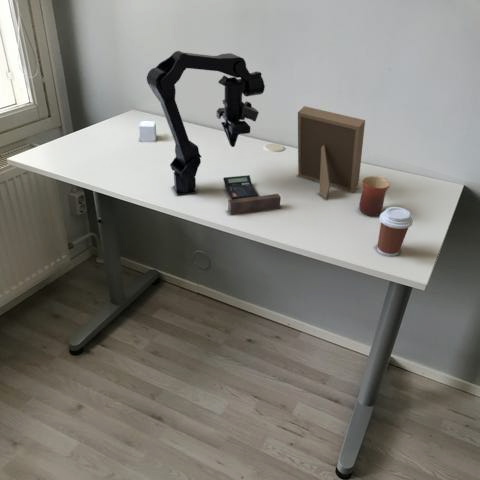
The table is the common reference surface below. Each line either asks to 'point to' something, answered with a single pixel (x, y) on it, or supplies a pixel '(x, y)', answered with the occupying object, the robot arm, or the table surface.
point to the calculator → (239, 187)
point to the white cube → (147, 131)
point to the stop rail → (254, 204)
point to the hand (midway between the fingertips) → (232, 146)
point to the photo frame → (329, 149)
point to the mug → (373, 195)
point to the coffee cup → (393, 230)
